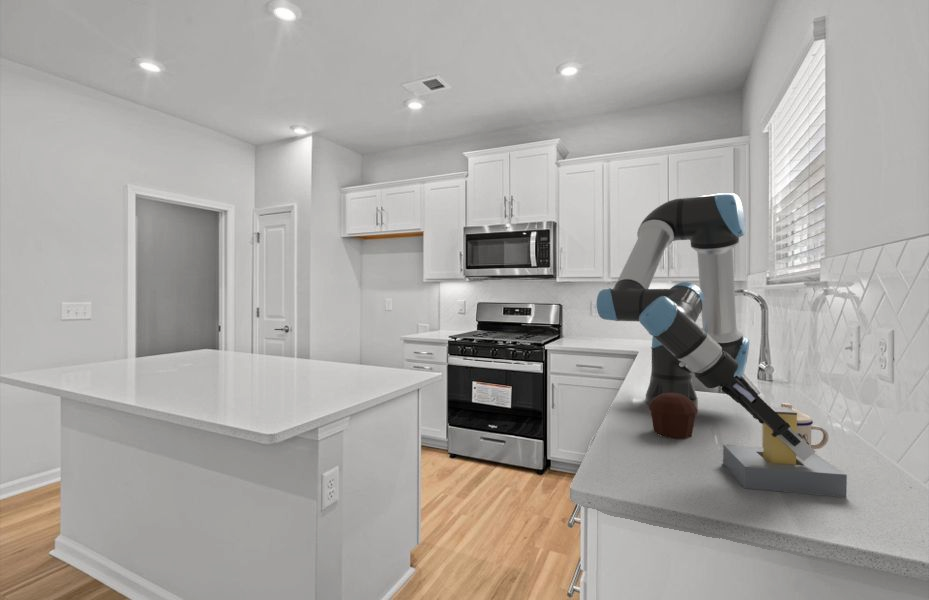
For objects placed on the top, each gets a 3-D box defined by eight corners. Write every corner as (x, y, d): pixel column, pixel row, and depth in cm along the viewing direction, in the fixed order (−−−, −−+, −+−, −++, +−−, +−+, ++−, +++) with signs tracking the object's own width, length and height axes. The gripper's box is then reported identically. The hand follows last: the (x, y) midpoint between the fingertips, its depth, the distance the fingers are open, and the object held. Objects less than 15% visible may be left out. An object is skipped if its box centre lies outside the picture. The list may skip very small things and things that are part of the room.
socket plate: (723, 463, 94) (723, 444, 94) (810, 470, 90) (811, 450, 90) (744, 488, 82) (745, 466, 82) (846, 497, 79) (846, 474, 79)
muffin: (670, 442, 107) (670, 401, 106) (638, 429, 117) (638, 391, 117) (708, 437, 111) (709, 397, 110) (674, 424, 121) (674, 387, 121)
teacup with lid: (767, 461, 95) (768, 407, 95) (756, 447, 104) (756, 397, 103) (836, 469, 91) (837, 412, 91) (819, 453, 99) (820, 401, 99)
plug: (763, 461, 89) (763, 406, 88) (786, 462, 88) (786, 407, 88) (771, 469, 85) (772, 411, 85) (796, 470, 84) (796, 412, 84)
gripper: (682, 367, 98) (767, 448, 94) (705, 383, 81) (809, 482, 78) (709, 343, 96) (796, 424, 93) (738, 355, 80) (845, 454, 76)
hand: (802, 450), depth 85 cm, fingers closed on plug, 4 cm apart
